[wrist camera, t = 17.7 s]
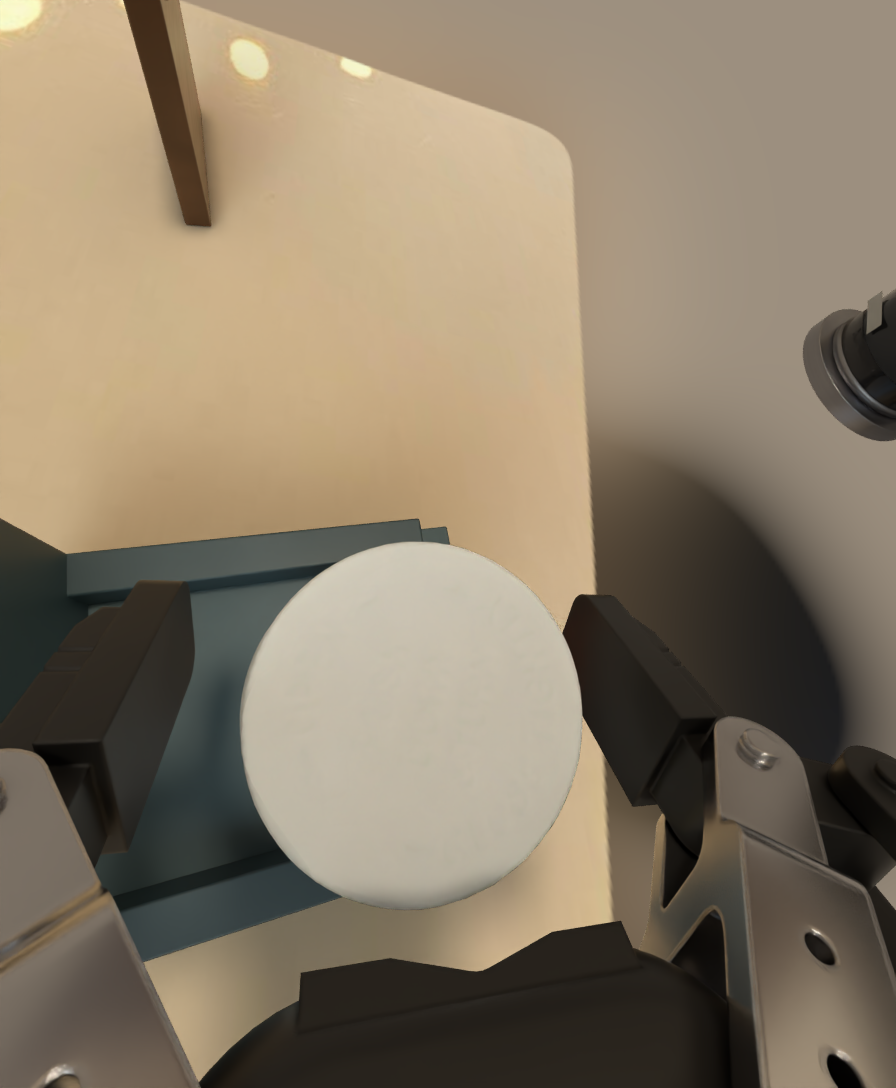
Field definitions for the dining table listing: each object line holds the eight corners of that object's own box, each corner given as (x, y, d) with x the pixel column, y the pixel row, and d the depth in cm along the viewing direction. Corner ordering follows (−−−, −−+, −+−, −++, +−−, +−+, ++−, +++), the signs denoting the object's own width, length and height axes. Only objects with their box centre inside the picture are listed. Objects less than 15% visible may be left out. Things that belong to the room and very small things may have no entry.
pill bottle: (474, 674, 19) (676, 656, 8) (378, 826, 16) (490, 1070, 6) (347, 578, 19) (389, 435, 8) (232, 719, 16) (80, 777, 6)
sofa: (431, 545, 23) (485, 477, 16) (480, 808, 20) (575, 877, 13) (48, 591, 18) (-130, 525, 11) (46, 937, 16) (-195, 1159, 8)
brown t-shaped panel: (207, 112, 27) (149, -192, 18) (217, 227, 25) (159, -46, 16) (170, 107, 26) (92, -210, 17) (179, 224, 24) (95, -60, 15)
